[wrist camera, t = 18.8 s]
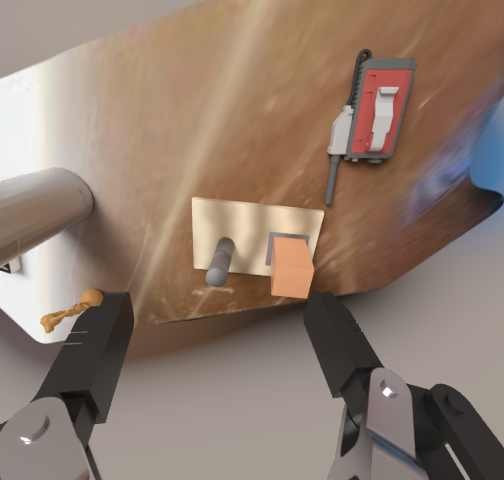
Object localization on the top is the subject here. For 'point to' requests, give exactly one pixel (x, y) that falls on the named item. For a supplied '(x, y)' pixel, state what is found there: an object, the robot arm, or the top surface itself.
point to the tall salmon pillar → (290, 268)
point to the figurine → (72, 309)
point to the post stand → (246, 235)
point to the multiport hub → (11, 266)
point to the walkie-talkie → (371, 112)
